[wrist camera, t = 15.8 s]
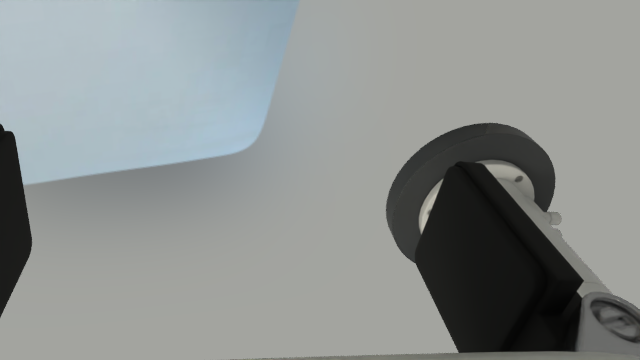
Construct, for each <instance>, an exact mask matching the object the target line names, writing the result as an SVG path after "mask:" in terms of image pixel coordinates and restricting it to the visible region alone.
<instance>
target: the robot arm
mask: <svg viewBox="0 0 640 360" xmlns="http://www.w3.org/2000/svg"><path fill="white" fill-rule="evenodd" d="M560 222H561V215H560V214H559V213H558V212H543V211H542V210H541V209H540V208H539V207H538V205H537V204H536V203H535V202H534V188H533V185H532V182H531V180H530V179H529V178H528V176H527V175H526V174H525V173H524V172H523V171H522V170H521V169H520V168H519V167H517V166H515V165H514V164H512V163H509V162H506V161H502V160H484V161H478V162H464V161H459V162H457V163H456V164H455V165H454V166H451V167H449V168H448V169H447V171H446V173H445V176H444V178H443V179H442V180H441V181H440V182H438V183H437V184H436V186H435V187H434V188H433V189H432V190H431V191H430V193H429V194H428V196H427V197H426V199H425V200H424V203H423V205H422V207H421V210H420V215H419V229H420V232H421V237H420V240H419V242H418V245H417V247H416V250H415V263H416V265H417V267H418V269H419V271H420V273H421V275H422V278H423V280H424V282H425V284H426V286H427V288H428V290H429V291H430V294H431V296H432V298H433V300H434V302H435V304H436V306H437V308H438V311H439V313H440V315H441V317H442V319H443V320H444V323H445V325H446V327H447V329H448V331H449V333H450V335H451V337H452V339H453V341H454V344H455V345H456V348H457V350H458V352H459V353H439V354H401V355H400V354H399V355H362V356H329V357H296V358H263V359H235V360H640V309H638V308H637V307H636V306H634V305H633V304H631V303H629V302H628V301H626V300H624V299H622V298H620V297H617V296H615V295H613V294H612V292H611V291H609V289H608V288H607V287H606V286H605V285H604V284H603V283H602V282H601V281H600V279H599V278H598V277H597V276H596V275H595V274H594V273H593V272H592V270H591V269H590V268H589V267H588V266H587V265H586V264H585V263H584V262H583V261H582V259H581V258H580V257H579V256H578V255H577V254H576V253H575V252H574V251H573V250H572V248H571V247H570V246H569V245H568V244H567V243H566V242H565V241H564V240H563V238H562V234H561V232H560V230H558V229H555V228H553V227H552V226H551V225H559V224H560ZM31 247H32V237H31V231H30V225H29V219H28V213H27V207H26V201H25V195H24V189H23V183H22V177H21V171H20V165H19V159H18V153H17V147H16V141H15V136H14V134H13V133H12V132H11V131H4V128H3V126H2V125H1V124H0V317H1V315H2V313H3V310H4V308H5V306H6V304H7V302H8V300H9V298H10V296H11V293H12V292H13V289H14V287H15V285H16V283H17V281H18V279H19V277H20V275H21V272H22V270H23V268H24V266H25V264H26V262H27V260H28V258H29V255H30V252H31ZM232 360H234V359H232Z"/></svg>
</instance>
